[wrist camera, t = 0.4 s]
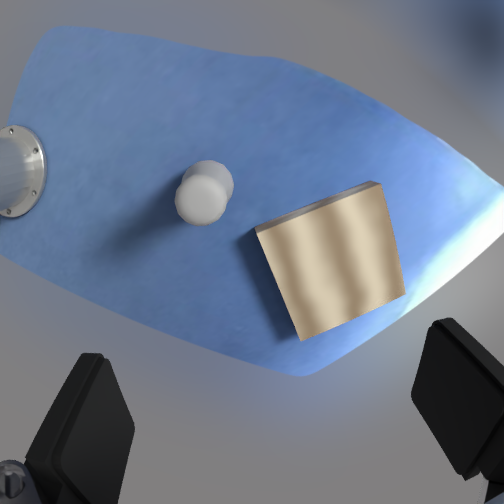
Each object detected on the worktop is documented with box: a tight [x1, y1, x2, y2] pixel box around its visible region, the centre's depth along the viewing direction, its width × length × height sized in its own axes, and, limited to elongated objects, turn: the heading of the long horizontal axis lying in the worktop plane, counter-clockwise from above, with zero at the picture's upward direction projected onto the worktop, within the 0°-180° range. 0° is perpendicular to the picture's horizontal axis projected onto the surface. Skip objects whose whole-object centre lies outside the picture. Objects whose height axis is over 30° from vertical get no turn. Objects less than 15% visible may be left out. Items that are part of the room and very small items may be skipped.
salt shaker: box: [175, 160, 234, 226], centre depth 31 cm, size 6×6×13 cm
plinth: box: [254, 181, 406, 341], centre depth 40 cm, size 16×16×3 cm
